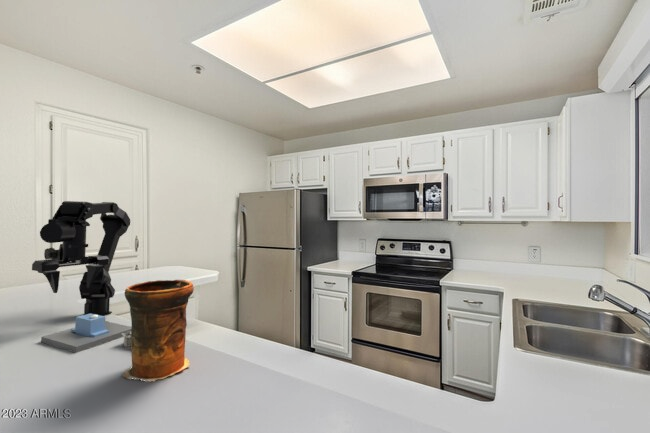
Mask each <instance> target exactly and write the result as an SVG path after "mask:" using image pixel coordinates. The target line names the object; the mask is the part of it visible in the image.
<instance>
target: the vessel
mask: <svg viewBox="0 0 650 433" xmlns="http://www.w3.org/2000/svg"><path fill="white" fill-rule="evenodd" d="M194 288H195V287H194V284H193V282H191V281H189V280H186V279H174V280H173V279H172V280H171V279H170V280H168V279H167V280H161V279H158V280H148V281H147V280H146V281H144V282H140V283H139V282H138V283H135V284H133V285H130V286H127V287H126V288H125V290H124V297H125V299H126V301H127V302H128V306H129V312H130V319H131V321H130V322H131V327H132V328H131V346H130V350H131V366H132V368H131V369H128V368H127V370H126V371H124V374H123V375H122V377H124V378H126V379H128V380H131V379H132V378H133V379H134V380H139V379H142V380H143V381H144V380H145V382H151V381H153V382H154V383H155V381H157V380H164V379H165V378H166V379H167V377H170V376H174V375H175V374H176V373H179V372H182V371H184V370H185V369H186V368H189V367H190V366H189V365H190V361H189V359H188V358H186V357H185V352H186V348H185V347H186V334H187V333H186V331H187V330H186V328H187V307H188V306H187V305H188V304H189V298H190V296H192V294H193V293H194ZM135 378H136V379H135ZM142 380H141V381H142ZM149 380H150V381H149ZM153 382H152V383H153Z"/></svg>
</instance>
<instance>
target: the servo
mask: <svg viewBox="0 0 650 433" xmlns="http://www.w3.org/2000/svg"><path fill="white" fill-rule="evenodd" d="M105 321H106V315H103V316H100V315H96V314H91V313H90V314H86V315H83V314H82V315H78V316H75V324H74V326H75V327H72V328H73V329H71V328H70V329H71V331H73V332H75V334H78V335H82V336H85V337H89V338H90V337H97V336H100V335H104V334H107V333H109V330H105Z"/></svg>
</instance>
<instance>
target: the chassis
mask: <svg viewBox="0 0 650 433" xmlns="http://www.w3.org/2000/svg"><path fill="white" fill-rule="evenodd" d="M73 328H74V327H72V328H68V329H65V330H61V331H58V332H53V333H50V334H46V335H42V336H40V337H41V341H40V342H41V343H43V344H47V345H50V346H53V347H57V348H59V349H63V350H66V351H70V352H73V353H79V352H83V351H85V350H88V349H91V348H94V347H97V346H100V345H103V344H105V343H108V342H112V341H114V340H117V339H120V338H123V337H124V336H123V335H122V334H121V333H127V332H130V331H131V328H132V326H130V325H126V324H125V325H124V324H119V323H115V322H111V321H107V320H105V330H109V333H107V334H104V335H100V336H97V337H90V338H89V337H85V336H82V335H78V334H75V332H73V331H71V329H73ZM124 338H125V337H124Z"/></svg>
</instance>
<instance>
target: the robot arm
mask: <svg viewBox="0 0 650 433" xmlns="http://www.w3.org/2000/svg"><path fill="white" fill-rule="evenodd" d="M94 215H100V217H99V219H100V221H101V223H102V229H103V231H104V236H103V238H102V242H101V244H100V247H99V250H98V252H97V255H95V254H94V255H88V256H86V251H87V250H86V248H89V243H87V227H90V226H91V224H90V222H88V221H87V220H88V219H91V218H93V216H94ZM47 222H48V223H46V224H44V225H43V226H42V228H41V229H40V230H39V236H40V238H41V240H42V241H44V242H45V243H49V244H53V243H60V244H59V248H58V249H55V248H52V247H50V248H45V249H44V253H43V254H44V259H41V260H39V259H38V260H34V261H33V262H32V264H31V271H34V272H37V273H39V274H43V275H44V276H45V278H46V280H47V281H48V284H49V286H50V287H51V288H50V289H51V291H52V292H53V293H54V294H58V291H59V287H60V286H59V284H60V273H61V271H60V270H58V269H59V268H63V267H64V268H65V267H72V266H73V267H75V266H83V265H85V267H86V268H85V269H86V271H84V273H83V275H82V279H81V280H80V281H79V282H80V284H79V287H78V289H79V295H80V298H81V300H85V303H84V307H83V308H84V310H83V312H84V313H82V315H86V314H90V313H91V314H96V315H100V316H107V315H109V314H110V315H111V314H113V311H110V300H111V298H114V296H115V292H116V289H115V288H114V286H113V285H112V278H111V275H110V273H109V271H110V268H111V265H112V262H113V259H114V256H115V253H116V250H117V246H118V244H119V240H120V238H121V237H122V236H123V235H125V233H127V231H128V229H129V226H130V225H131V219H130V217H129V215H128V213H127V212H126V211H125V210H124V209H122V208H121V207H119V205H118V204H117V203H116V202H112V201H103V202H93V203H92V202H88V201H76V200H75V201H74V200H72V201H71V200H64V201H62V202H61V204H60V205H59V206H58V208H57V210H56V212H55V214H54V215H53V216H52V218H49V219H48V221H47Z"/></svg>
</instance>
